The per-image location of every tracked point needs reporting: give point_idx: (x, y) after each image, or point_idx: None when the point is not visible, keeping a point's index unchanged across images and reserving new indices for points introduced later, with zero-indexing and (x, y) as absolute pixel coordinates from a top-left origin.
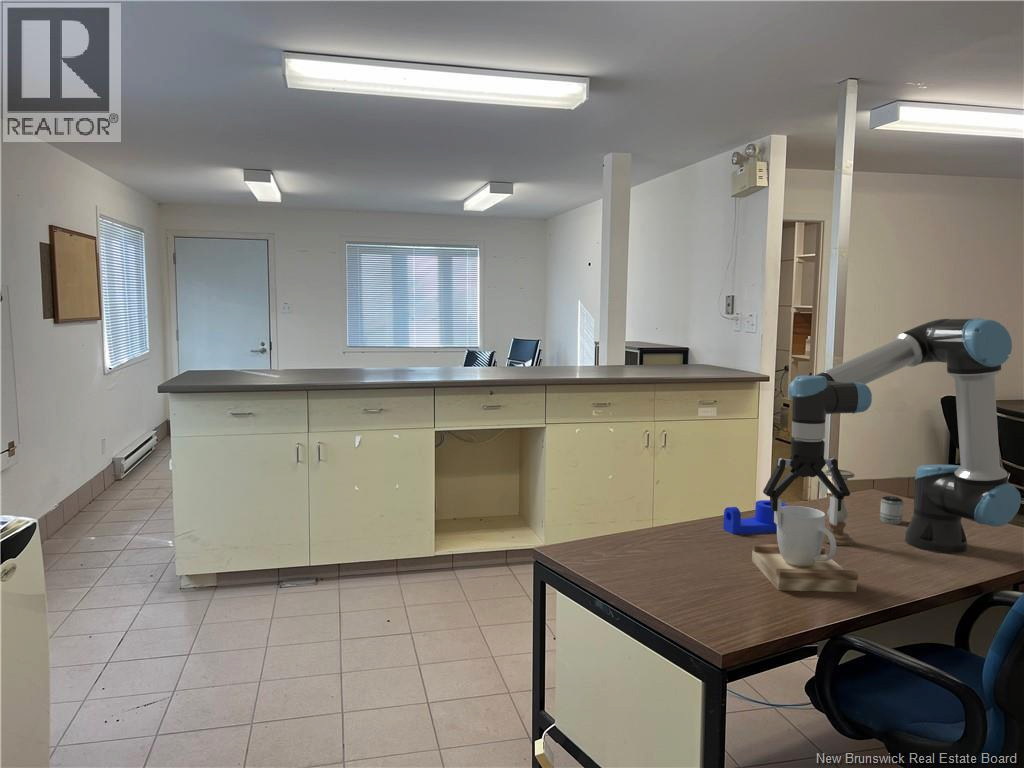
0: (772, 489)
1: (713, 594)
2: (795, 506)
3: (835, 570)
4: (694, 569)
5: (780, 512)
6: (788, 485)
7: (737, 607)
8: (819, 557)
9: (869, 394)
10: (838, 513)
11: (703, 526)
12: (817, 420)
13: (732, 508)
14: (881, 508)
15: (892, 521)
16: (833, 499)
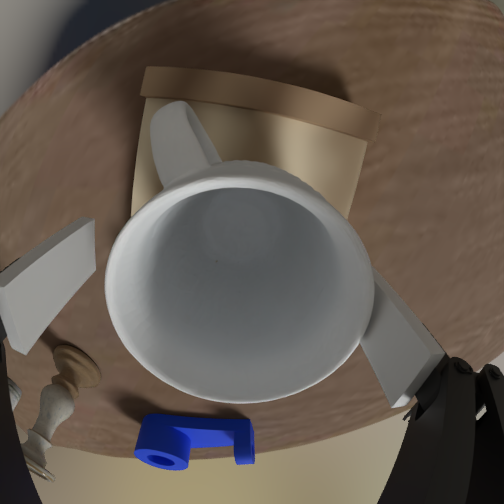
0: (499, 397)
1: (475, 147)
2: (211, 396)
3: (196, 94)
4: (441, 271)
5: (392, 300)
6: (442, 455)
7: (464, 83)
8: (208, 160)
9: None
10: (54, 397)
11: (279, 439)
12: None
13: (247, 460)
14: (14, 402)
15: (9, 382)
16: (13, 305)
